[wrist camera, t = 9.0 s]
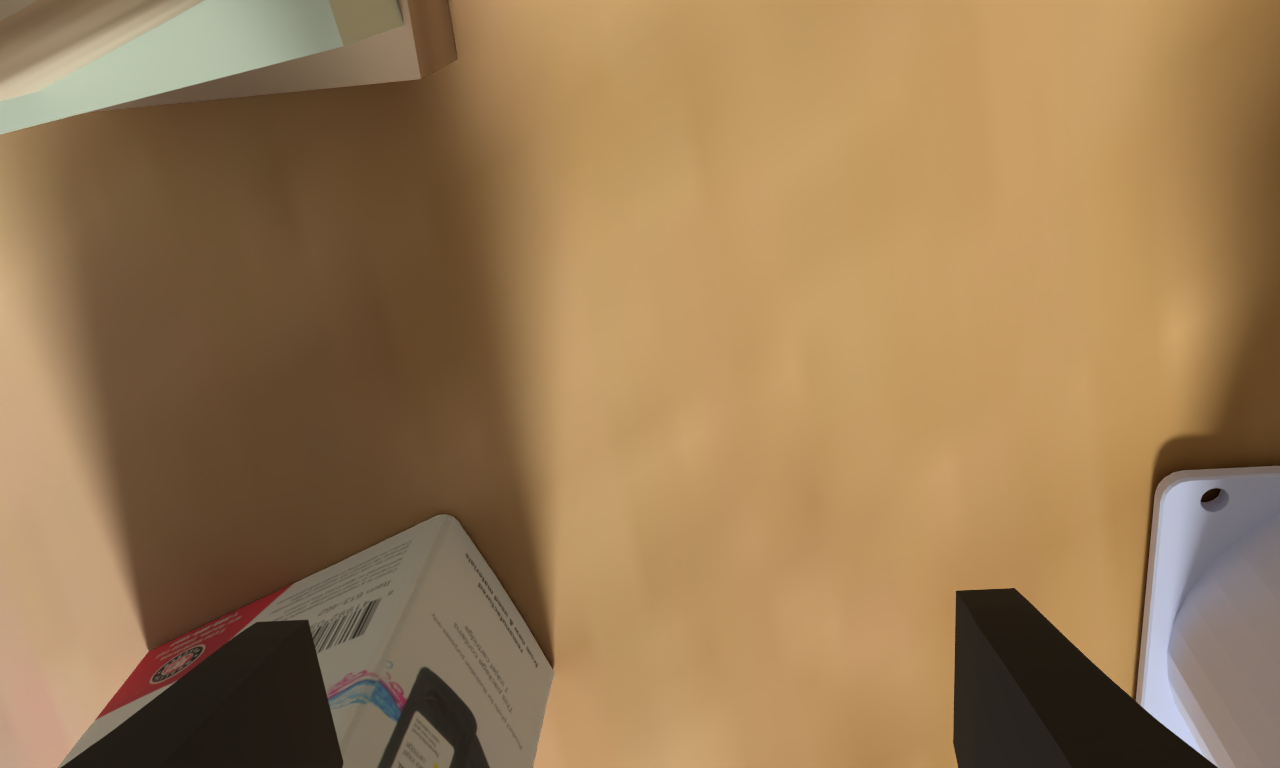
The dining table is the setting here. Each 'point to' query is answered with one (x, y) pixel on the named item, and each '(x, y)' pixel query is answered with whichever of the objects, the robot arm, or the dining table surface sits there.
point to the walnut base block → (339, 62)
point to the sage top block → (203, 52)
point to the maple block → (69, 36)
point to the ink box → (392, 656)
